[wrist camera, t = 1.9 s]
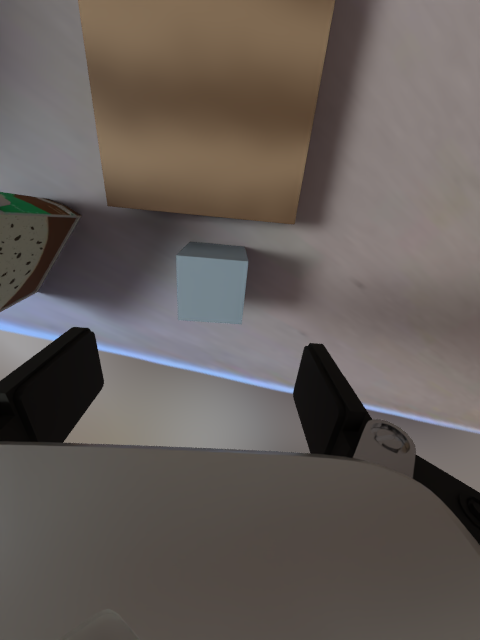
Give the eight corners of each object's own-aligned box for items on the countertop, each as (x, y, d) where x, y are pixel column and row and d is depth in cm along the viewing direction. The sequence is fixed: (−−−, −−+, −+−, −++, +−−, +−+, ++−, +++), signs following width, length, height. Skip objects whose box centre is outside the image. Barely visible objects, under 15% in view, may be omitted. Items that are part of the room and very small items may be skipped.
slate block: (190, 241, 22) (176, 255, 16) (244, 246, 22) (248, 261, 17) (190, 293, 24) (178, 319, 18) (239, 296, 24) (241, 324, 19)
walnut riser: (93, -61, 14) (60, -124, 11) (326, -21, 15) (348, -70, 12) (124, 205, 20) (107, 206, 17) (286, 221, 21) (294, 224, 18)
